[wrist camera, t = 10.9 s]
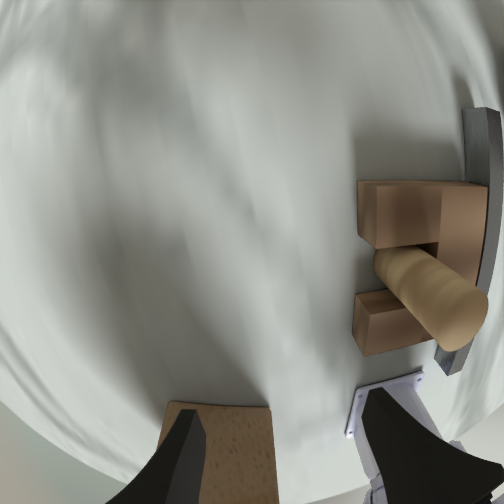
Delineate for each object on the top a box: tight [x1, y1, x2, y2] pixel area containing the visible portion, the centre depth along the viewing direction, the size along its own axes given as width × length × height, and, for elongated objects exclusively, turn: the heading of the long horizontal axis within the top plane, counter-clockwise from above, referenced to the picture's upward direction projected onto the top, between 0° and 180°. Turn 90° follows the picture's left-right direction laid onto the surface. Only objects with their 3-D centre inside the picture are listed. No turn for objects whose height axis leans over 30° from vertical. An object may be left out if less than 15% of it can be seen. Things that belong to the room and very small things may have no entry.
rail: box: [434, 107, 504, 376], centre depth 18 cm, size 24×2×3 cm, turn 6°
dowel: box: [373, 245, 488, 351], centre depth 15 cm, size 4×4×9 cm
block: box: [352, 180, 488, 357], centre depth 18 cm, size 12×10×3 cm
